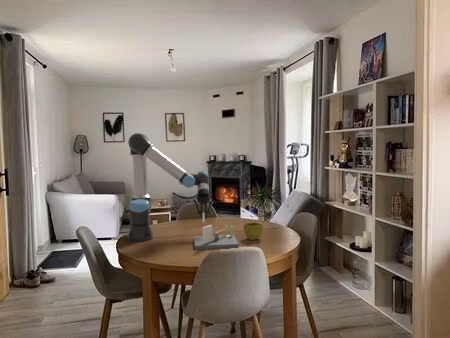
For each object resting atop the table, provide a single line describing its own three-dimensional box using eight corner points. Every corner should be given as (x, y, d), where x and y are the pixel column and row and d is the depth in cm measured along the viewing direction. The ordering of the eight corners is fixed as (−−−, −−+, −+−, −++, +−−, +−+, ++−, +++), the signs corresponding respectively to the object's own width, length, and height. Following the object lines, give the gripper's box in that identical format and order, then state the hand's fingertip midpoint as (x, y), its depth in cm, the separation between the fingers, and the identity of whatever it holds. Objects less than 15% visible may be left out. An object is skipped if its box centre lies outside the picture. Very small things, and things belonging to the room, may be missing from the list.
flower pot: (250, 241, 209) (250, 226, 208) (243, 238, 217) (242, 223, 216) (263, 239, 213) (263, 224, 212) (255, 236, 221) (255, 222, 220)
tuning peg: (206, 244, 195) (206, 227, 195) (201, 243, 198) (200, 226, 197) (228, 235, 214) (228, 220, 213) (223, 234, 216) (223, 220, 215)
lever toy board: (194, 249, 194) (194, 234, 194) (194, 239, 216) (194, 226, 216) (238, 247, 196) (238, 233, 196) (233, 237, 218) (233, 224, 218)
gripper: (213, 195, 234) (214, 226, 219) (193, 195, 233) (193, 226, 218) (213, 188, 229) (214, 219, 213) (193, 188, 228) (192, 219, 212)
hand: (203, 223), depth 216 cm, fingers closed
